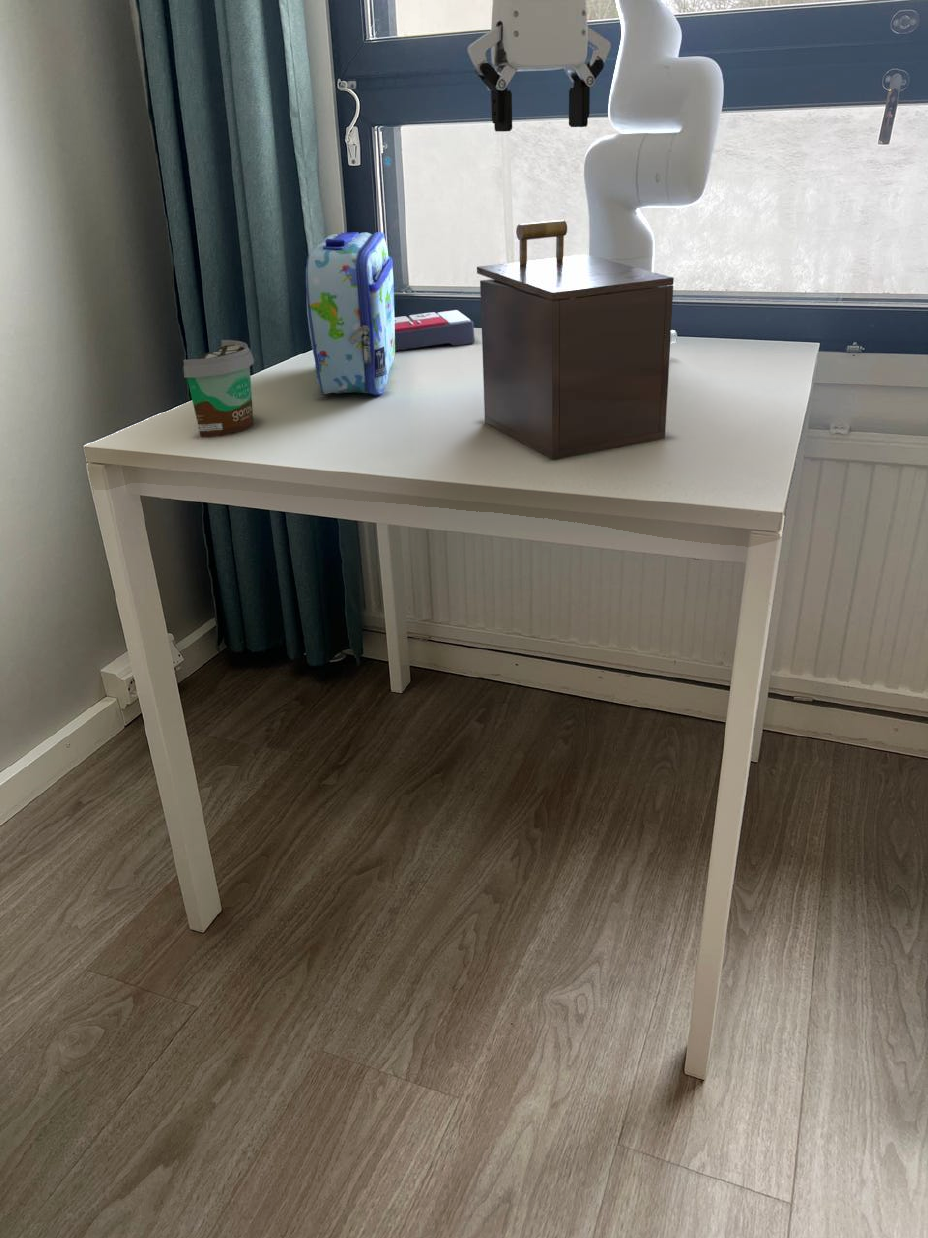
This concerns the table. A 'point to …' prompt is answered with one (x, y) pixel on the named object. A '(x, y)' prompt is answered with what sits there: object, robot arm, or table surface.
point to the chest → (576, 367)
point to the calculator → (433, 330)
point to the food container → (222, 389)
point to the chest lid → (568, 269)
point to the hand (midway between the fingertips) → (541, 128)
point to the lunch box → (351, 312)
